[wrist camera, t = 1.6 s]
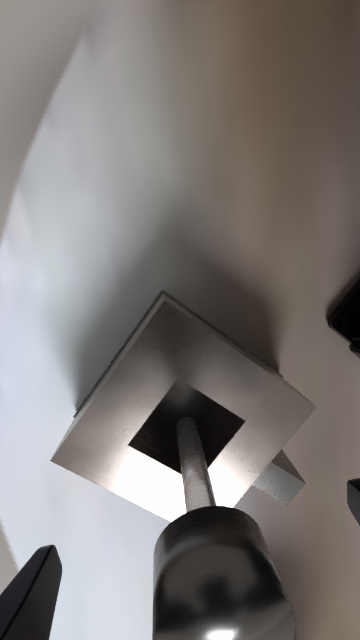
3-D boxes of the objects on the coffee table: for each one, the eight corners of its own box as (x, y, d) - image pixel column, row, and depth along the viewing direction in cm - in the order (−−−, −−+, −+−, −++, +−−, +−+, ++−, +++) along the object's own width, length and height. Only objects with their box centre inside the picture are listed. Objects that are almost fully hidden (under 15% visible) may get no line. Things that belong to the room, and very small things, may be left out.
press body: (162, 289, 14) (163, 296, 10) (309, 394, 16) (357, 432, 12) (75, 412, 15) (47, 461, 11) (225, 495, 17) (245, 561, 13)
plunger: (179, 386, 12) (211, 560, 5) (228, 418, 12) (324, 615, 5) (143, 434, 12) (122, 665, 5) (192, 463, 12) (237, 706, 5)
